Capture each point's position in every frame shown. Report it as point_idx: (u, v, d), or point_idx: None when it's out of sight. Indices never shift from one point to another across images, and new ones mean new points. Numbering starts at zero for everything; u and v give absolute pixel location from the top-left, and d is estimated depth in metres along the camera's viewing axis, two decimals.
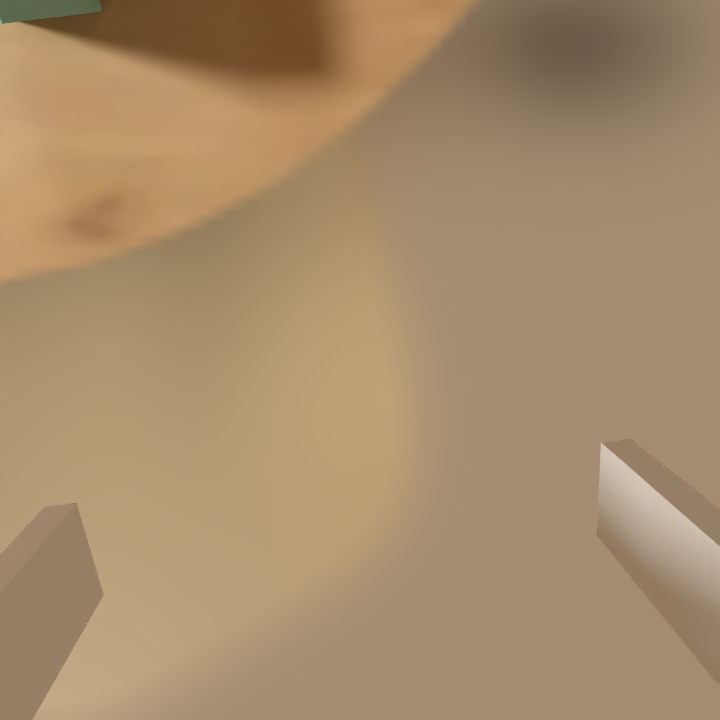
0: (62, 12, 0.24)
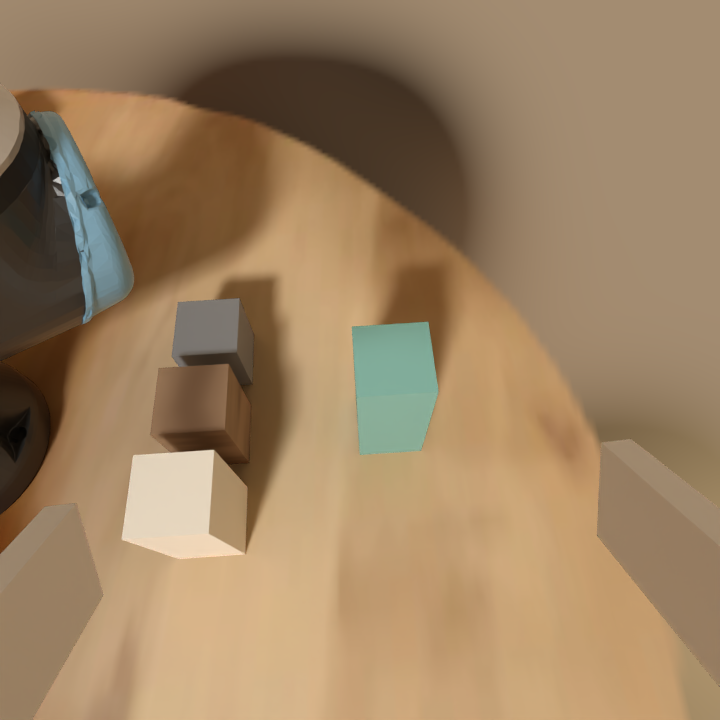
0: None
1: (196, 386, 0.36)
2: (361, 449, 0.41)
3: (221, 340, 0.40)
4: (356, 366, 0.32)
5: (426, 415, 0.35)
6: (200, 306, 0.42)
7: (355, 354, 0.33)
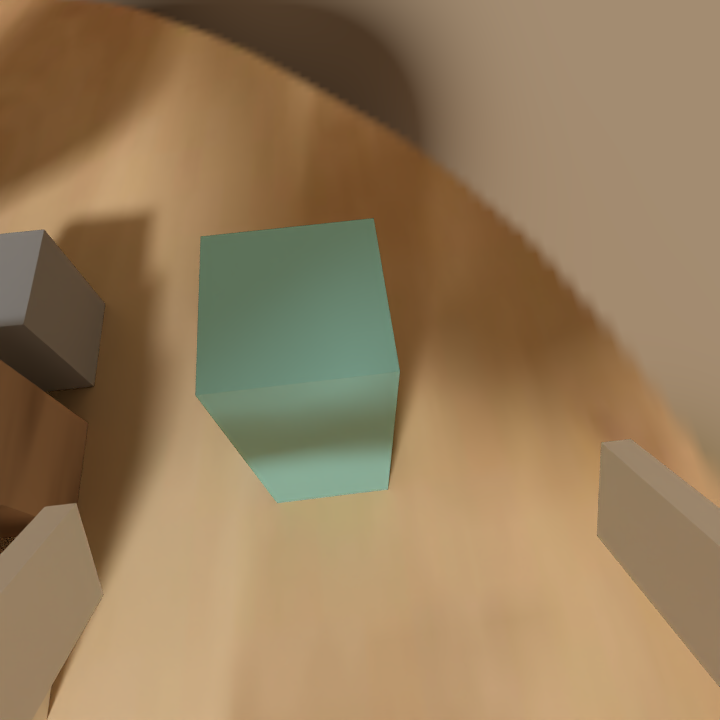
0: None
1: None
2: (275, 495, 0.22)
3: None
4: (202, 322, 0.13)
5: (381, 428, 0.16)
6: None
7: (202, 295, 0.14)
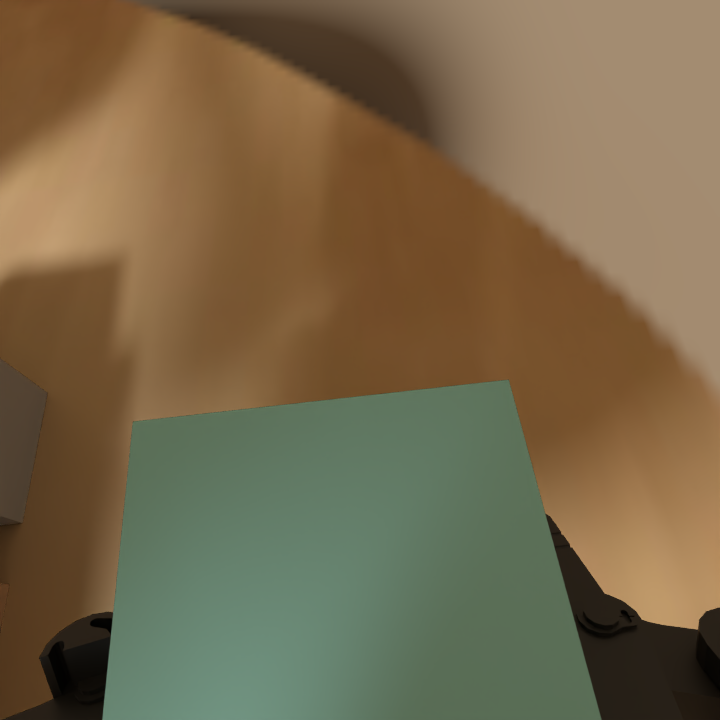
0: None
1: None
2: None
3: None
4: (118, 679, 0.05)
5: None
6: None
7: (124, 591, 0.06)
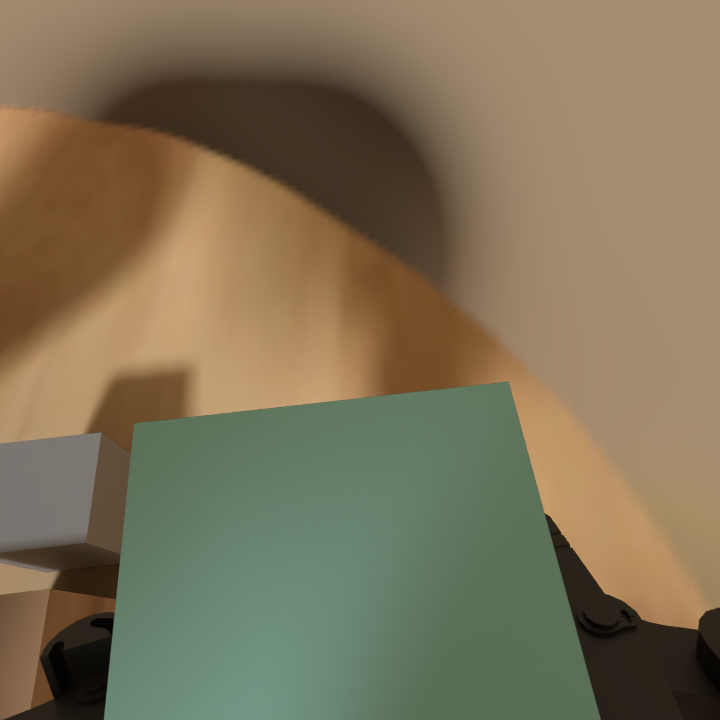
0: None
1: None
2: None
3: (61, 517, 0.23)
4: (119, 680, 0.05)
5: None
6: (32, 452, 0.24)
7: (125, 593, 0.06)
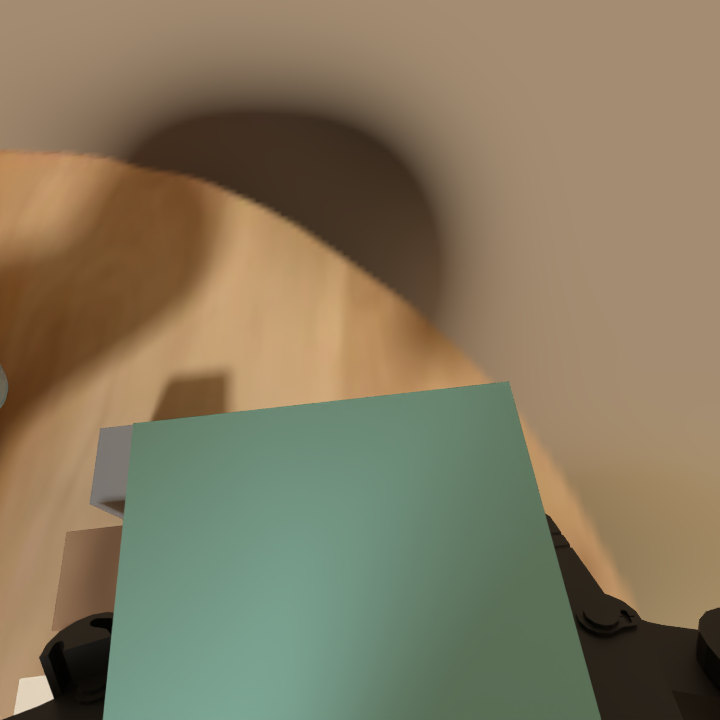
0: None
1: (114, 556, 0.29)
2: None
3: None
4: (118, 681, 0.05)
5: None
6: (127, 433, 0.34)
7: (125, 593, 0.06)
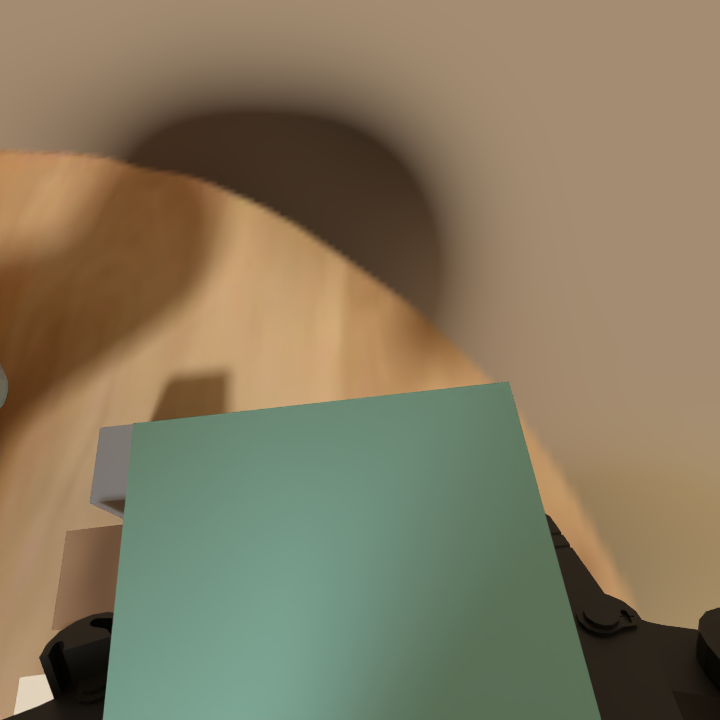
0: None
1: (114, 555, 0.29)
2: None
3: None
4: (118, 681, 0.05)
5: None
6: (127, 433, 0.34)
7: (125, 594, 0.06)
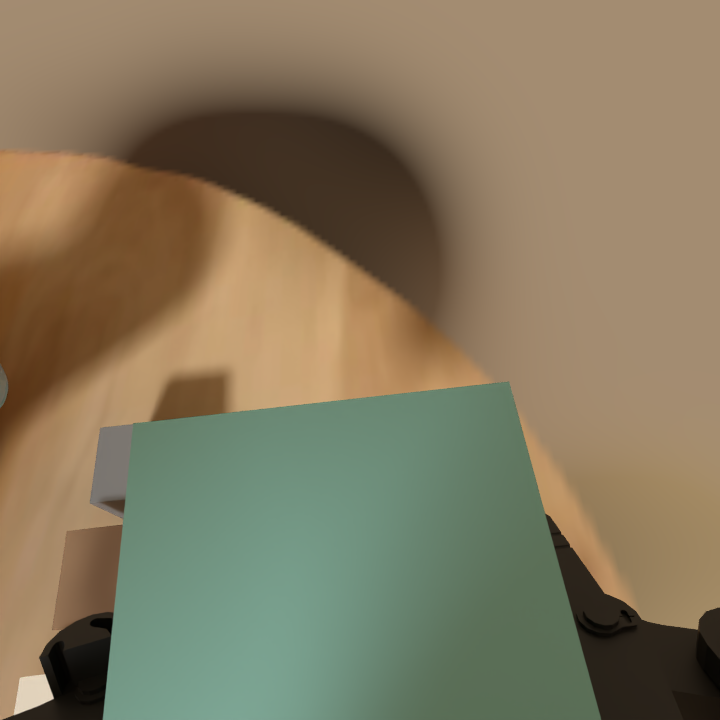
0: None
1: (114, 555, 0.29)
2: None
3: None
4: (118, 681, 0.05)
5: None
6: (127, 433, 0.34)
7: (125, 594, 0.06)
